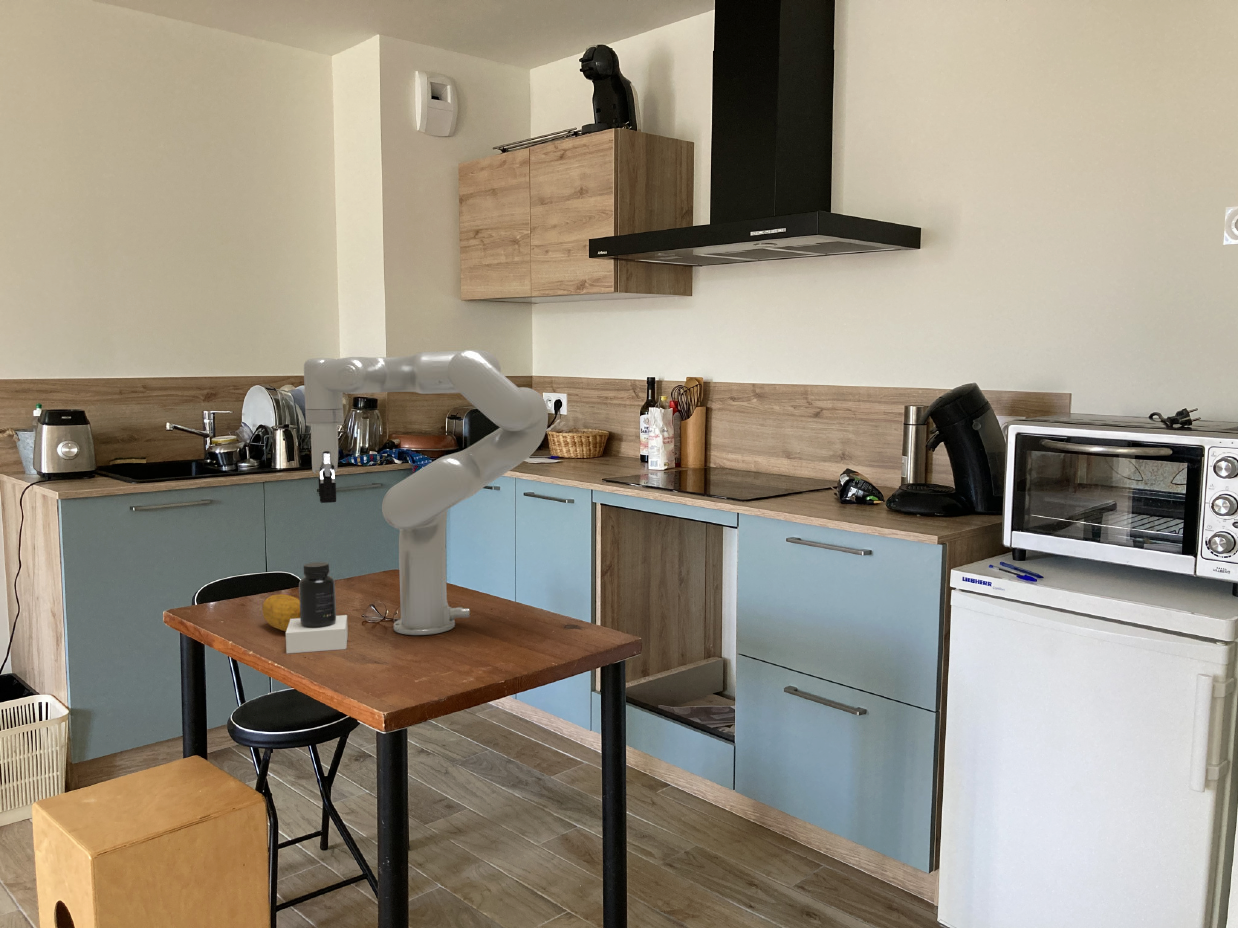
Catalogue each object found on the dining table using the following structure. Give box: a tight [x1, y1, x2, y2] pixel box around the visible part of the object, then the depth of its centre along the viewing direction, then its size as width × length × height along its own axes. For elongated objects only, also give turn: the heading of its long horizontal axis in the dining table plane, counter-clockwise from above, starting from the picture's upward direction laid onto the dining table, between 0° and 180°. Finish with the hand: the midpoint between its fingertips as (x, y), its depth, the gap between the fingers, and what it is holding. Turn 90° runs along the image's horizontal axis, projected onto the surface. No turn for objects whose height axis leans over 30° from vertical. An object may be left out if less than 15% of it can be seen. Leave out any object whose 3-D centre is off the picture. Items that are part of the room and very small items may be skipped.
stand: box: [285, 614, 349, 654], centre depth 189 cm, size 11×11×4 cm
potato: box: [261, 593, 300, 633], centre depth 200 cm, size 7×14×7 cm, turn 38°
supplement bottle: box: [298, 561, 337, 628], centre depth 188 cm, size 7×7×12 cm
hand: (327, 499), depth 200 cm, fingers open, 9 cm apart
